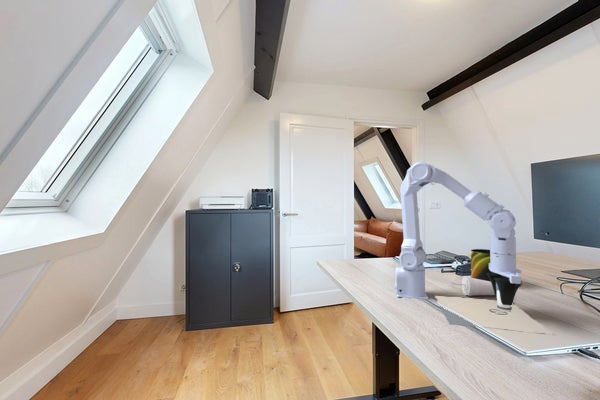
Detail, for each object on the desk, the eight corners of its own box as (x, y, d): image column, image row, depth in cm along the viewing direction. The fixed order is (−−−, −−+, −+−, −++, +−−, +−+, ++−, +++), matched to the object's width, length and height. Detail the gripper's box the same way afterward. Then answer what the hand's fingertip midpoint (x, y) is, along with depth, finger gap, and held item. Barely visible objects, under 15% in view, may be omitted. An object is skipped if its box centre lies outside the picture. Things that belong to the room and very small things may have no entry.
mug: (492, 277, 108) (492, 247, 108) (507, 288, 95) (506, 254, 95) (465, 275, 111) (465, 246, 111) (475, 285, 98) (475, 253, 98)
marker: (499, 311, 73) (499, 282, 73) (494, 306, 76) (493, 278, 76) (514, 312, 72) (513, 283, 72) (508, 307, 75) (507, 279, 75)
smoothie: (506, 289, 82) (456, 284, 84) (500, 303, 85) (452, 299, 87) (496, 274, 87) (450, 270, 90) (490, 288, 90) (446, 284, 93)
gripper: (534, 259, 66) (535, 314, 66) (507, 249, 80) (508, 294, 80) (501, 258, 68) (502, 311, 68) (480, 248, 82) (481, 292, 82)
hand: (503, 302), depth 74 cm, fingers closed on marker, 3 cm apart
